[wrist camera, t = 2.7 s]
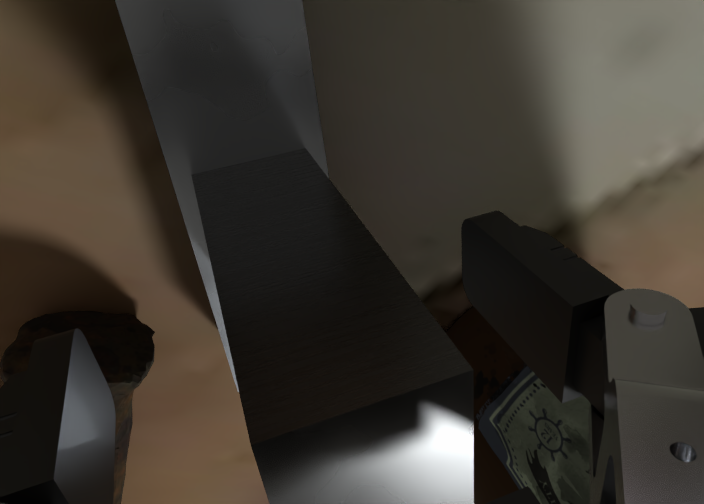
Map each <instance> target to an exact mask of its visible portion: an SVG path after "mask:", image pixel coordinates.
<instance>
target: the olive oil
mask: <svg viewBox="0 0 704 504" xmlns="http://www.w3.org/2000/svg"><path fill="white" fill-rule="evenodd" d="M446 334H447V335H448V337H449V338H450V339H451V341H452V342H453V343H454V345H455V346H456V347H457V349H458V350H459V351H460V353H461V354H462V355H463V357H464V358H465V359H466V361H467V362H468V363H469V364H470V366H471V367H472V368H473V380H474V503H475V504H485V503H488V502H490V501H493V500H495V499H498V498H500V497H502V496H505V495H507V494H510V493H512V492H515V491H517V490H520V489H522V488H524V487H527V486H528V487H529V488H530V490H531V491H532V492H533V494H534V495H535V497H536V498H537V499H538V501H539V502H540V504H589V502H590V475H589V426H588V413H589V406H590V402H589V401H588V400H587V399H586V398H585V397H584V396H581V397H578V398H576V399H573V400H570V401H568V402H565V403H561V402H560V401H559V400H558V399H557V397H556V396H555V395H554V394H553V393H552V392H551V391H550V390H549V389H548V388H547V386H546V385H545V384H544V383H543V382H542V381H541V380H540V379H539V378H538V377H537V375H536V374H535V373H534V372H533V371H532V370H531V369H530V368H529V367H528V366H527V364H526V363H525V362H524V361H523V360H522V359H521V358H520V357H519V356H518V355H517V353H516V352H515V351H514V350H513V349H512V348H511V347H510V346H509V345H508V344H507V342H506V341H505V340H504V339H503V338H502V337H501V336H500V335H499V334H498V333H497V331H496V330H495V329H494V328H493V327H492V326H491V325H490V324H489V323H488V322H487V320H486V319H485V318H484V317H483V316H482V315H481V314H480V313H479V312H478V311H477V309H476V308H475V307H474V306H473V307H472V308H471V309H469V310H468V311H467V312H466V313H465V314H464V315H462V316H461V317H460V318H459V319H458V320H457V321H456V322H455V323H454V324H453V325H452V327H451V328H450V329H449V330H448V331H447V332H446Z"/></svg>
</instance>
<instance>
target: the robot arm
mask: <svg viewBox="0 0 704 504" xmlns="http://www.w3.org/2000/svg"><path fill="white" fill-rule="evenodd" d="M461 234H462V280H463V286H464V289H465V292H466V295H467V297H468V299H469V301H470V302H471V304H472V305H473V306H474V307H475V308H476V309H477V311H478V312H479V313H480V314H481V315H482V316H483V317H484V318H485V319H486V320H487V322H488V323H489V324H490V325H491V326H492V327H493V328H494V329H495V330H496V331H497V333H498V334H499V335H500V336H501V337H502V338H503V339H504V340H505V341H506V342H507V344H508V345H509V346H510V347H511V348H512V349H513V350H514V351H515V352H516V353H517V355H518V356H519V357H520V358H521V359H522V360H523V361H524V362H525V363H526V364H527V366H528V367H529V368H530V369H531V370H532V371H533V372H534V373H535V374H536V375H537V377H538V378H539V379H540V380H541V381H542V382H543V383H544V384H545V385H546V386H547V388H548V389H549V390H550V391H551V392H552V393H553V394H554V395H555V396H556V397H557V399H558V400H559V401H560V402H561V403H565V402H568V401H570V400H573V399H576V398H578V397H581V396H584V397H585V398H586V399H587V400H588V401H589V402H590V406H589V413H588V426H589V475H590V502H589V504H704V307H701V308H688V307H687V306H685V305H684V304H683V303H682V302H681V301H679V300H678V299H676V298H674V297H672V296H670V295H668V294H665V293H662V292H659V291H654V290H649V289H627V290H624V289H623V288H621V287H620V286H618V285H617V284H616V283H614V282H613V281H612V280H610V279H609V278H608V277H606V276H605V275H603V274H602V273H601V272H599V271H598V270H597V269H595V268H594V267H592V266H591V265H590V264H588V263H587V262H586V261H584V260H583V259H582V258H577V255H576V254H575V253H573V252H572V251H571V250H569V249H568V248H564V245H562V244H561V243H560V242H558V241H557V240H556V239H554V238H553V237H551V236H550V235H549V234H547V233H545V232H542V231H539V230H536V229H533V228H531V227H528V226H521V227H520V226H518V225H517V224H516V223H515V222H513V221H512V220H511V219H509V218H508V217H507V216H505V215H504V214H503V213H501V212H500V211H493V212H489V213H486V214H482V215H479V216H475V217H472V218H468V219H465V220H464V221H463V224H462V230H461ZM115 428H116V414H115V406H114V401H113V398H112V394H111V391H110V388H109V386H108V384H107V382H106V380H105V378H104V375H103V373H102V371H101V369H100V367H99V365H98V363H97V361H96V359H95V357H94V355H93V353H92V350H91V348H90V346H89V344H88V342H87V340H86V338H85V336H84V334H83V333H82V332H81V330H80V329H78V328H77V329H73V330H69V331H66V332H62V333H59V334H55V335H52V336H48V337H45V338H41V339H37V340H35V341H34V343H33V346H32V350H31V355H30V359H29V363H28V368H27V370H26V371H23V372H20V373H16V374H13V375H10V377H9V378H8V379H7V381H6V382H5V383H4V385H3V386H2V387H1V388H0V504H113V499H114V464H115ZM485 504H540V502H539V501H538V499H537V498H536V497H535V495H534V494H533V492H532V491H531V490H530V488H529V487H528V486H527V487H524V488H522V489H520V490H517V491H515V492H512V493H510V494H507V495H505V496H502V497H500V498H498V499H495V500H493V501H490V502H488V503H485Z"/></svg>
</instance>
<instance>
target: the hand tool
mask: <svg viewBox="0 0 704 504" xmlns="http://www.w3.org/2000/svg"><path fill="white" fill-rule="evenodd" d="M77 328H78V329H80V330H81V332H82V333H83V334H84V336H85V338H86V340H87V342H88V344H89V346H90V348H91V350H92V353H93V355H94V357H95V359H96V361H97V363H98V365H99V367H100V369H101V371H102V373H103V375H104V378H105V380H106V382H107V384H108V386H109V388H110V391H111V394H112V398H113V401H114V406H115V414H116V428H115V464H114V499H113V504H121V499H122V492H123V486H124V480H125V471H126V459H127V453H128V447H129V440H130V434H131V428H132V397H133V391H134V389H135V388H136V387H137V386H139V385H140V383H141V381H142V380H143V379H144V378H145V377H146V376H147V374H148V372H149V370H150V368H151V366H152V364H153V362H154V343H153V340H152V336H153V334H154V333H155V332H154V331H153V330H152V329H151V328H150V327H148V326H147V325H145V324H143V323H141V322H140V321H139V320H138V319H137V318H136V317H135V316H134V315H129V314H105V313H101V312H93V311H76V312H61V313H55V314H45V315H42V316H40V317H37V318H34V319H32V320H30V321H28V322H26V323H25V324H24V325H23V326H22V327H21V328H20V330H19V332H18V336H17V339H16V340H15V341H14V342H13V343H12V344H11V345H10V346H9V347H8V348H7V349H6V350H5V352H4V355H3V357H2V360H1V362H0V367H1V369H0V377H1V378H2V380H3V381H4V383H5V382H6V381H7V379H8V378H9V377H10V375H13V374H16V373H20V372H23V371H26V370H27V368H28V363H29V359H30V355H31V350H32V346H33V343H34V341H35V340H37V339H41V338H45V337H48V336H52V335H55V334H59V333H62V332H66V331H69V330H73V329H77Z"/></svg>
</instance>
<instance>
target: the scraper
mask: <svg viewBox="0 0 704 504" xmlns="http://www.w3.org/2000/svg"><path fill="white" fill-rule="evenodd" d="M115 2H116V5H117V8H118V11H119V15H120V18H121V21H122V24H123V27H124V30H125V34H126V37H127V40H128V43H129V46H130V50H131V53H132V56H133V59H134V62H135V65H136V69H137V72H138V75H139V78H140V81H141V85H142V88H143V91H144V94H145V97H146V101H147V104H148V107H149V110H150V113H151V116H152V120H153V123H154V126H155V129H156V132H157V136H158V139H159V142H160V145H161V148H162V152H163V155H164V158H165V161H166V164H167V167H168V171H169V174H170V177H171V180H172V183H173V187H174V190H175V193H176V196H177V199H178V203H179V206H180V209H181V212H182V215H183V218H184V222H185V225H186V228H187V231H188V234H189V238H190V241H191V244H192V247H193V250H194V254H195V257H196V260H197V263H198V266H199V269H200V273H201V276H202V279H203V282H204V285H205V289H206V292H207V295H208V298H209V301H210V304H211V308H212V311H213V314H214V317H215V320H216V324H217V327H218V330H219V333H220V336H221V340H222V343H223V346H224V349H225V352H226V355H227V359H228V362H229V365H230V368H231V371H232V375H233V378H234V381H235V384H236V387H237V391H238V392H239V393H240V398H241V402H242V407H243V411H244V416H245V420H246V425H247V430H248V434H249V439H250V443H251V447H252V450H253V453H254V456H255V459H256V463H257V466H258V469H259V472H260V475H261V478H262V481H263V484H264V488H265V491H266V494H267V497H268V500H269V503H270V504H474V380H473V368H472V367H471V366H470V364H469V363H468V362H467V361H466V359H465V358H464V357H463V355H462V354H461V353H460V351H459V350H458V349H457V347H456V346H455V345H454V343H453V342H452V341H451V339H450V338H449V337H448V335H447V334H446V333H445V331H444V330H443V329H442V328H441V326H440V325H439V324H438V322H437V321H436V320H435V318H434V317H433V316H432V314H431V313H430V312H429V310H428V309H427V308H426V306H425V305H424V304H423V302H422V301H421V300H420V298H419V297H418V296H417V294H416V293H415V292H414V291H413V289H412V288H411V287H410V285H409V284H408V283H407V281H406V280H405V279H404V277H403V276H402V275H401V273H400V272H399V271H398V269H397V268H396V267H395V265H394V264H393V263H392V261H391V260H390V259H389V258H388V256H387V255H386V254H385V252H384V251H383V250H382V248H381V247H380V246H379V244H378V243H377V242H376V240H375V239H374V238H373V236H372V235H371V234H370V232H369V231H368V230H367V228H366V227H365V226H364V224H363V223H362V222H361V221H360V219H359V218H358V217H357V215H356V214H355V213H354V211H353V210H352V209H351V207H350V206H349V205H348V203H347V202H346V201H345V199H344V198H343V197H342V195H341V194H340V193H339V191H338V190H337V189H336V187H335V186H334V185H333V184H332V182H331V181H330V180H329V175H328V168H327V162H326V155H325V148H324V142H323V135H322V128H321V122H320V115H319V109H318V102H317V95H316V89H315V82H314V75H313V69H312V62H311V55H310V49H309V42H308V36H307V29H306V22H305V16H304V9H303V2H302V0H115Z"/></svg>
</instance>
